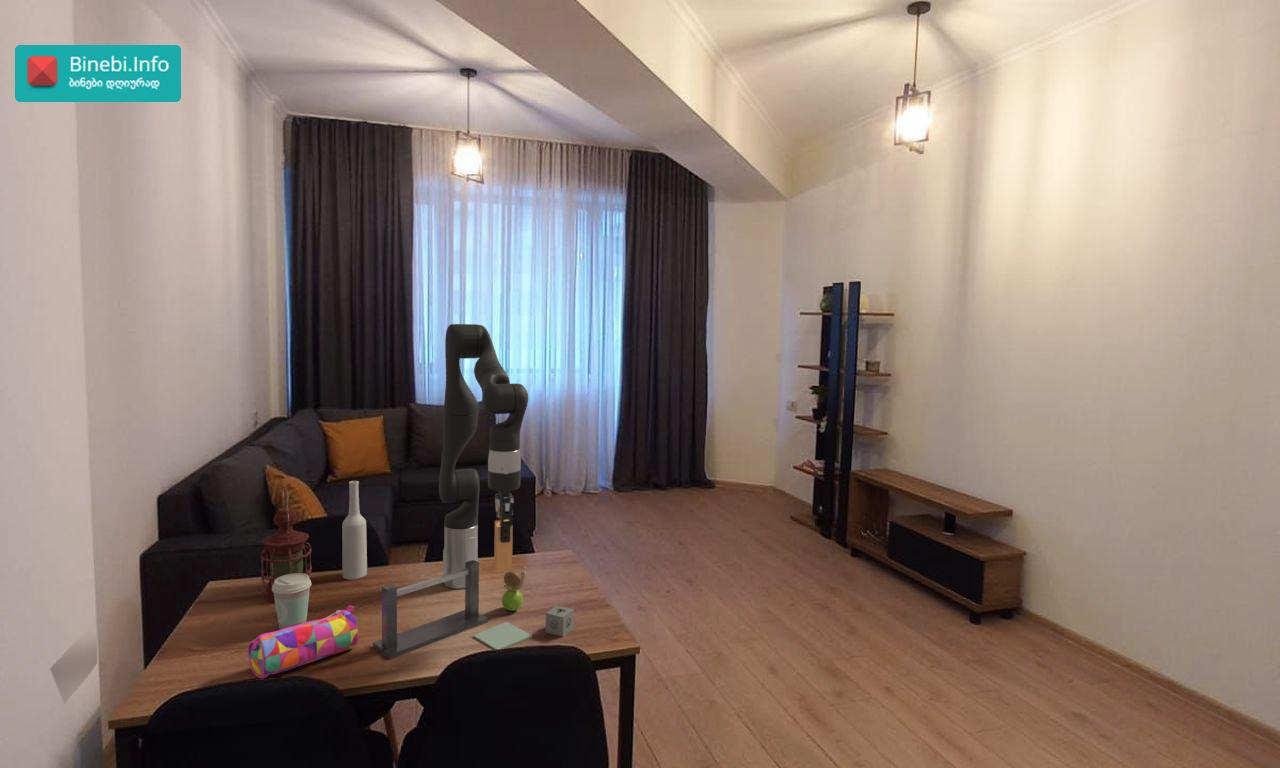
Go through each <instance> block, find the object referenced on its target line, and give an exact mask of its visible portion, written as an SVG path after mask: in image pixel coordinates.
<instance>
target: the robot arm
mask: <svg viewBox="0 0 1280 768" xmlns="http://www.w3.org/2000/svg"><path fill="white" fill-rule="evenodd" d="M444 337H445V341H444V344H445V345H444V347H445V352H444V353H445V354H444V355H445V389H444V405H443V415H442V416H443V419H442V425H443V426H442V431H443V432H442V433H443V434H442V453H441V460H440V461H441V462H440V469H439V470H440V471H439V476H438V477H439V479H438V495H439V498H440V500H441V502H442V503H444V504H455V503H456V504H457V503H462V504H461V505H460V506H459V507H457V508H456V509H454V510H452V511H450V512H448V513H446V514H445V515H444V521H443V523H444V536H443V538H444V548H443V549H442V575H446V574H449V573H452V572H456V571H459V570H462V569H465V562H468V561H471V560H475V561H477V562H478V555H479V554H478V551H479V550H478V546H479V545H478V543H479V541H478V538H479V537H478V536H479V534H478V531H479V530H478V529H479V526H478V525H479V521H478V519H479V499H480V486H481V485H480V475H479V473H478V471H477V470H476V469H475V468H462V469H461V468H460V469H456V465H457V461H458V460H459V457H460V455H461V454H462V451H463V450H464V449H465V447H466V446H467V445H468V443H469V442H470V441H471V440H472V438H473V437H474V435H475V433H476V431H477V428H478V420H479V402H478V400H477V398H476V396H475V395H474V392H473V391H472V389H470V386H469V385H468V383H467V382H466V380H465V378H464V376H463V373H462V371H461V366H460V362H461V361H460V360H461V359H463V360H464V359H467V360H468V359H477V361H476V362H475V365H474V368H473V374H474V378H475V380H476V383H478V385H479V387H480V388H481V395H482V396H481V397H482V398H481V402H482V403H481V405H482V408H483V410H484V411H485V412H486V413H488V414H491V415H508V416H507V419H506V420H504V421H502V422H497V423H496V424H493V425H492V426H490V428H489V435H488V436H489V445H488V446H489V449H488V450H489V451H488V456H487V459H488V460H487V461H488V462H487V467H488V469H487V487H488V489H489V490H492V491H495V494H494V502H495V507H494V508H495V509H494V510H495V513H496V519H497V520H500V541H501V542H502V543H506V542H510V527H511V526H513V524H514V523H513V515H514V511H513V510H514V496H513V493H511V492H512V491H515V490H517V489H519V488H520V487H521V475H522V474H521V469H522V468H521V467H522V465H521V463H522V462H521V461H522V460H521V458H522V457H521V451H520V450H521V447H520V446H521V441H520V440H521V429H522V425H523V421H524V418H525V414H526V412H527V409H528V408H527V407H528V404H529V394H528V390H527V389H526V386H524V385H523V384H521V383H511V381H510V377H509V375H508V373H507V371H506V370H505V369H504V367H503V366H502V364H501V363H500V361H499V359H498V356H497V352H496V349H495V346H494V344H493V343H494V342H493V341H492V339H491V335H490V332H489V331H488V329H487V328H486V327H485V326H484V325H482V324H475V323H473V324H472V323H469V324H468V323H453V324H452V323H451V324H449V325H448V326H447V328H446V332H445V336H444ZM507 519H508V521H504V520H507ZM443 584H444V586H446V588H450V589H459V590H460V589H465V576H462V577H459V578H455V579H452V580H449V581H446V582H443Z"/></svg>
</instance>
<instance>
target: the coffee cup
mask: <svg viewBox="0 0 1280 768" xmlns="http://www.w3.org/2000/svg"><path fill="white" fill-rule="evenodd" d="M303 573H304V572H303ZM303 573H294V574H287V575H284V576H281V577H278V578H277V579H275V581H274V584H273V586H272V591H273V592H274V599H275V610H276V611H275V612H276V616H277V621H278V623H277V624H278V629H279V630H281V629H285V628H288V627H292V626H296V625H300V624H304V623H307V619H308V618H307V617H308V611H309V609H308V608H309V599H310V589H311V587H312V581H311V579H310V575H309V576H308V574H303Z"/></svg>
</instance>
